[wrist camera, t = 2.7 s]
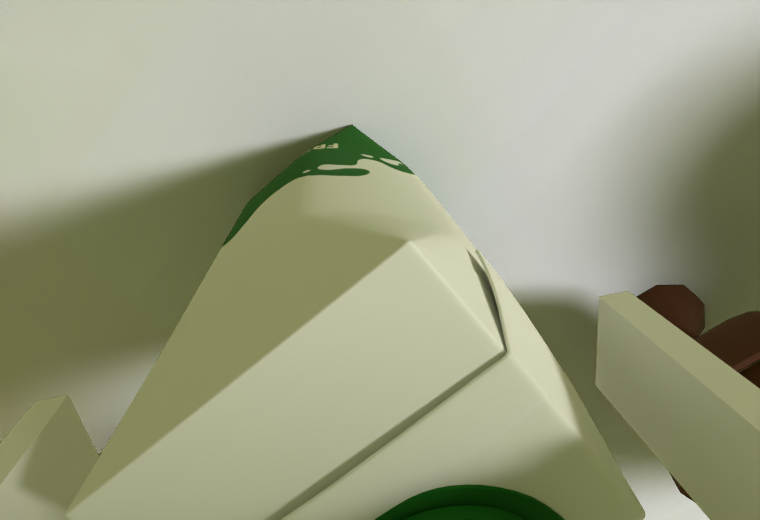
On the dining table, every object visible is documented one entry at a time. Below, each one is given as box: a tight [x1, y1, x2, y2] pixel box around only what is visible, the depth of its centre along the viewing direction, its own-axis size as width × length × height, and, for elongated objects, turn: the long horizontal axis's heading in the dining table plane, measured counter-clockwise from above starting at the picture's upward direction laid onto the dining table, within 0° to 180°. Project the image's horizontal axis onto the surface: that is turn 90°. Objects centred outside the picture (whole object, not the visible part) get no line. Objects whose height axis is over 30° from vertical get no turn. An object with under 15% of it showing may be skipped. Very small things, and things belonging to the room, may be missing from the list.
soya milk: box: [64, 125, 645, 520], centre depth 16 cm, size 9×9×20 cm
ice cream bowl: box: [637, 285, 760, 502], centre depth 23 cm, size 11×11×15 cm
